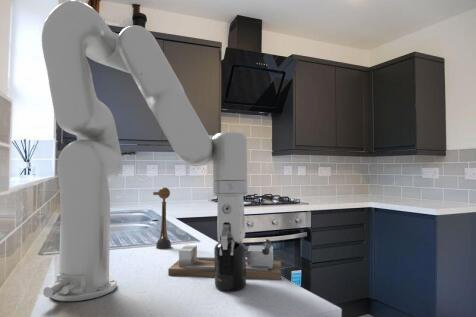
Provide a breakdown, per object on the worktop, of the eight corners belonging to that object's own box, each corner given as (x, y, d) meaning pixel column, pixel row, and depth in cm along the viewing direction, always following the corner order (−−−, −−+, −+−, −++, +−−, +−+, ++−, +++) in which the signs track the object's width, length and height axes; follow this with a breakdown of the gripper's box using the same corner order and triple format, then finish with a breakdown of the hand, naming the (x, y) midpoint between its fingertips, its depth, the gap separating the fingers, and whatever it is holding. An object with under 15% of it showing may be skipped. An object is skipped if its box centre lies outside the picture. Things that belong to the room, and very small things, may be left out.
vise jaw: (272, 271, 74) (272, 248, 74) (246, 270, 75) (246, 247, 75) (273, 259, 85) (272, 238, 85) (250, 258, 85) (250, 238, 86)
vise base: (281, 279, 74) (280, 255, 74) (168, 275, 77) (168, 252, 78) (280, 267, 84) (280, 245, 84) (180, 263, 87) (180, 243, 88)
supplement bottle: (230, 279, 74) (230, 227, 75) (252, 286, 69) (252, 230, 70) (207, 286, 69) (208, 230, 70) (229, 295, 65) (229, 234, 65)
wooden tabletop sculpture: (151, 249, 104) (152, 187, 105) (154, 246, 109) (154, 187, 110) (170, 248, 105) (170, 187, 106) (171, 245, 109) (172, 186, 110)
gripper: (243, 190, 61) (243, 281, 61) (250, 187, 79) (251, 258, 78) (204, 190, 62) (204, 280, 62) (220, 187, 80) (220, 257, 79)
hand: (230, 267), depth 70 cm, fingers open, 9 cm apart
